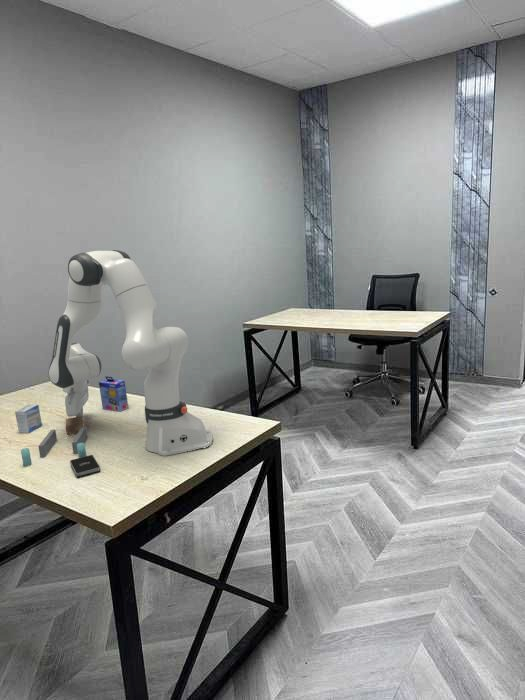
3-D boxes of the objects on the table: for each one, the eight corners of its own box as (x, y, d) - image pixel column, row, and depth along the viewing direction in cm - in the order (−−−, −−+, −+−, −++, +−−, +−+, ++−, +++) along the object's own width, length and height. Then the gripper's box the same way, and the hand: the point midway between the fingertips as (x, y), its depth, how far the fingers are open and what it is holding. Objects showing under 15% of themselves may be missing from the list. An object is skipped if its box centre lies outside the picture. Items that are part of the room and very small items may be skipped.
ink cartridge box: (101, 409, 201) (97, 376, 198) (111, 405, 206) (106, 372, 202) (119, 412, 196) (115, 378, 193) (129, 407, 201) (124, 374, 198)
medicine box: (28, 433, 179) (25, 411, 177) (18, 433, 180) (14, 411, 178) (42, 425, 186) (38, 404, 185) (32, 425, 187) (28, 404, 185)
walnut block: (84, 425, 184) (82, 416, 183) (84, 433, 177) (83, 422, 176) (67, 428, 182) (65, 418, 181) (67, 436, 175) (65, 426, 174)
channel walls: (87, 436, 172) (86, 426, 171) (78, 453, 159) (76, 442, 158) (52, 440, 171) (51, 429, 170) (40, 457, 157) (38, 446, 157)
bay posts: (87, 456, 156) (85, 442, 155) (85, 459, 154) (83, 445, 153) (24, 463, 154) (22, 448, 153) (22, 466, 151) (19, 451, 150)
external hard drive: (93, 460, 154) (92, 454, 154) (101, 473, 145) (100, 467, 144) (70, 466, 151) (69, 460, 150) (77, 480, 141) (76, 474, 141)
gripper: (76, 392, 173) (82, 428, 176) (89, 377, 193) (93, 409, 196) (58, 394, 173) (64, 430, 176) (73, 378, 192) (77, 411, 195)
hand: (80, 419), depth 186 cm, fingers closed
